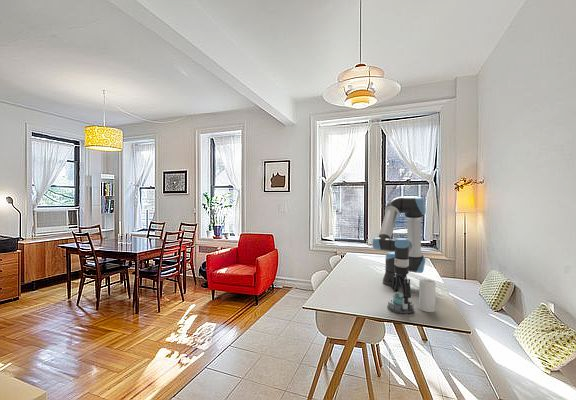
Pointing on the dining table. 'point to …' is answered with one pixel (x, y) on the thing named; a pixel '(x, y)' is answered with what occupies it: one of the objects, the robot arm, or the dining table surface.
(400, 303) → the cap
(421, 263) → the robot arm
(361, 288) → the dining table surface
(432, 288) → the cup
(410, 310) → the dark grey round bowl
